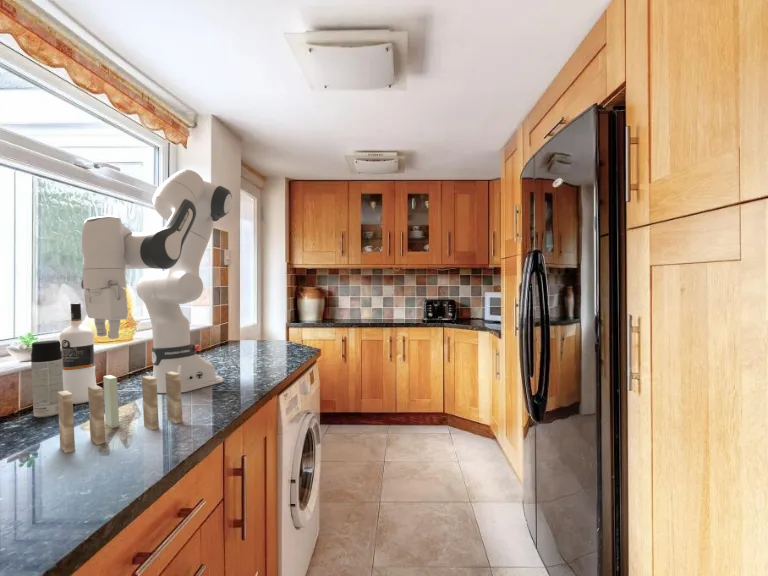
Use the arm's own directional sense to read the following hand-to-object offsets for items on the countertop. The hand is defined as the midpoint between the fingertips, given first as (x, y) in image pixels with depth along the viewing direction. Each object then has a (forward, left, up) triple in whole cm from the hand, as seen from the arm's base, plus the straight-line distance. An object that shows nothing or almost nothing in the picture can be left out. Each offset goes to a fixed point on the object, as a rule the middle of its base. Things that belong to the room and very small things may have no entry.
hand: (107, 337), depth 104 cm
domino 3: (0, 0, -22) cm, 22 cm away
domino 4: (-6, +10, -22) cm, 25 cm away
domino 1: (+11, +10, -22) cm, 26 cm away
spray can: (+8, -26, -22) cm, 35 cm away
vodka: (-1, -35, -22) cm, 41 cm away
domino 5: (-11, +10, -22) cm, 26 cm away
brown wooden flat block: (+5, +10, -22) cm, 25 cm away
